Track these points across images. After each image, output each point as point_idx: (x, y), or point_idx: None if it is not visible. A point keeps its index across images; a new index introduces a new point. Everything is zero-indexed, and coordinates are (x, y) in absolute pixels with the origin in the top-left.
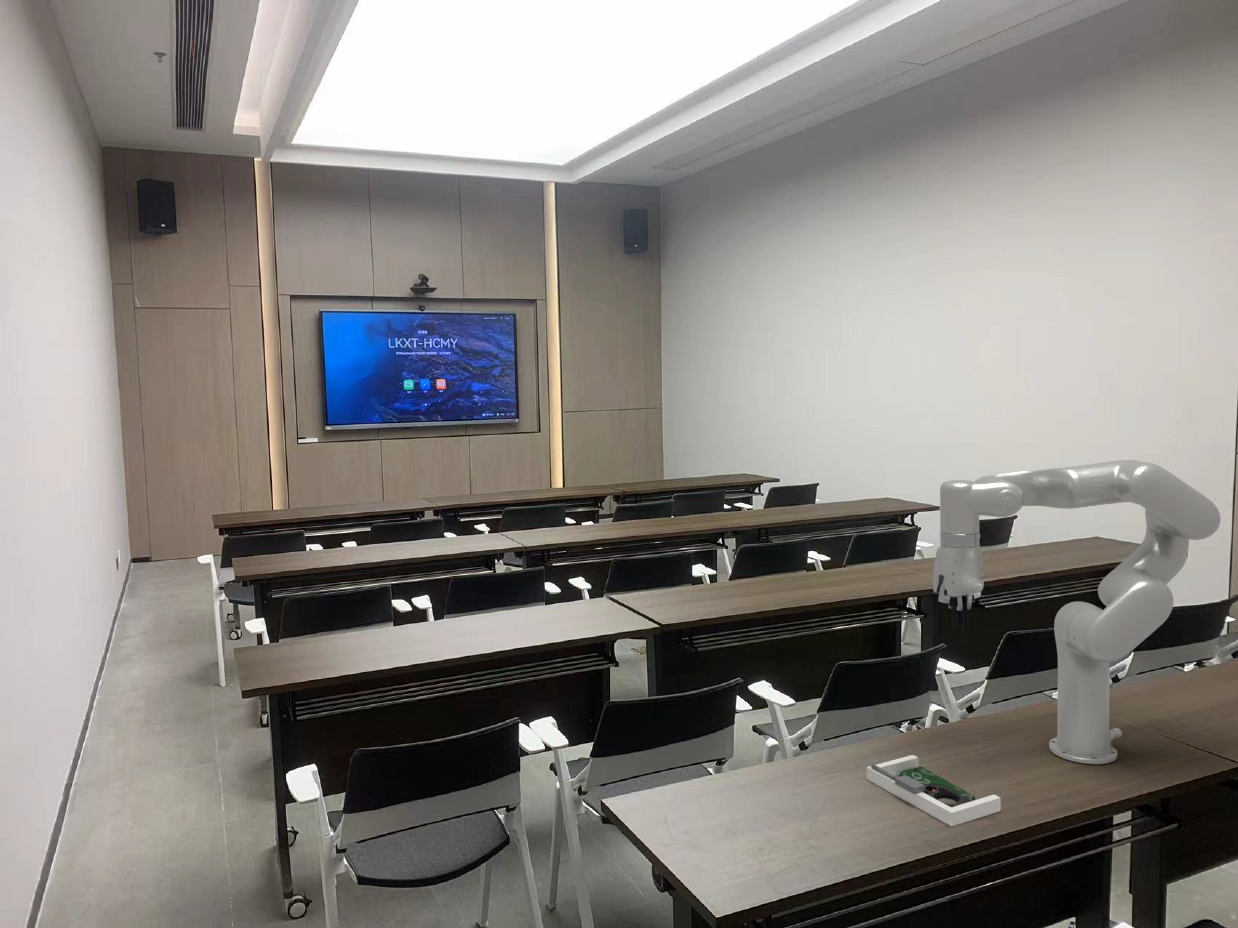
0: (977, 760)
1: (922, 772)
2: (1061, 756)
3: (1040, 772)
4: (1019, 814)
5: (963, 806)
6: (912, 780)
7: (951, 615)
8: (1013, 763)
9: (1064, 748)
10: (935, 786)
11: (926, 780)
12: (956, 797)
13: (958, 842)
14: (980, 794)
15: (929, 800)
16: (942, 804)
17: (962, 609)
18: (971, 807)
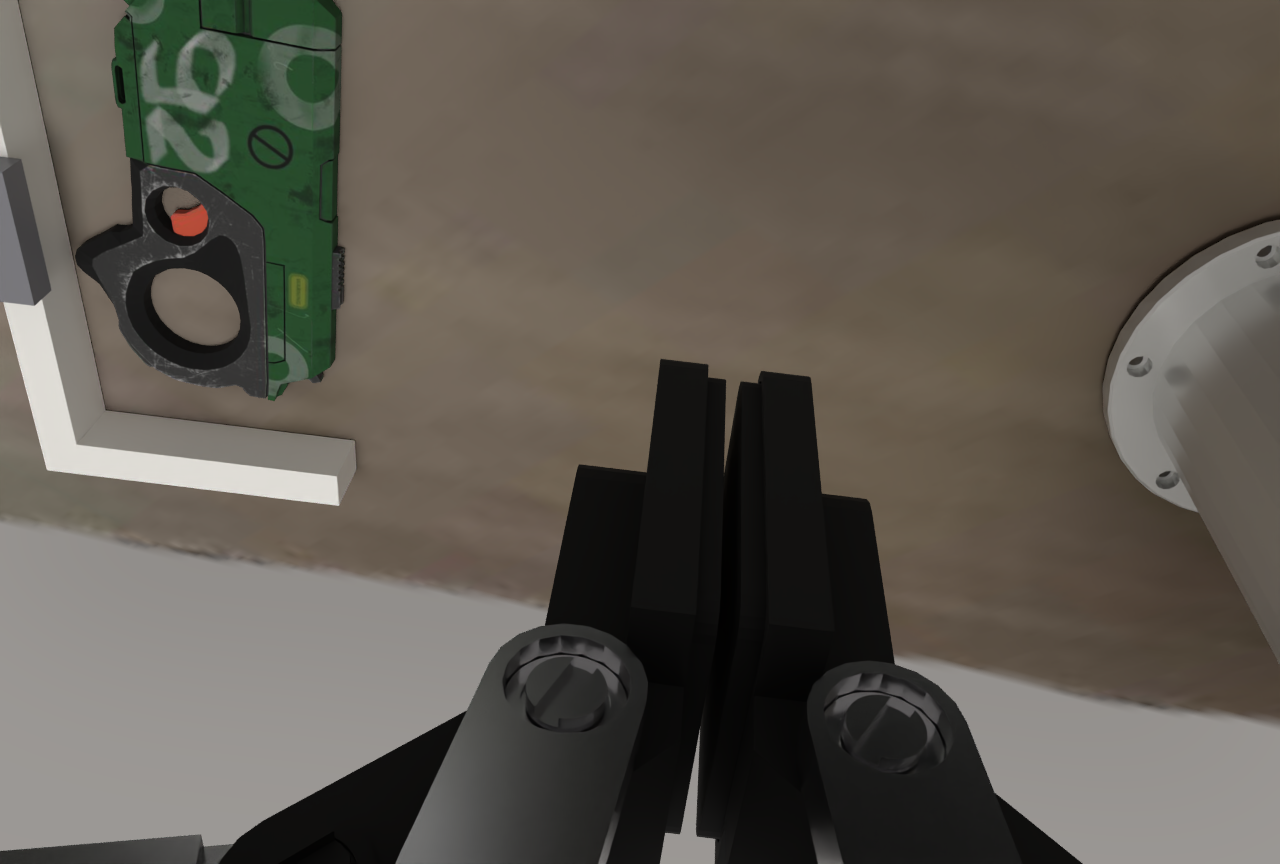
0: (732, 89)
1: (261, 61)
2: (1112, 352)
3: (854, 370)
4: (402, 519)
5: (133, 465)
6: (6, 238)
7: (645, 487)
8: (855, 234)
9: (1171, 361)
10: (215, 213)
11: (216, 142)
12: (243, 328)
13: (29, 508)
14: (400, 341)
15: (22, 357)
16: (56, 409)
17: (735, 782)
18: (165, 481)
